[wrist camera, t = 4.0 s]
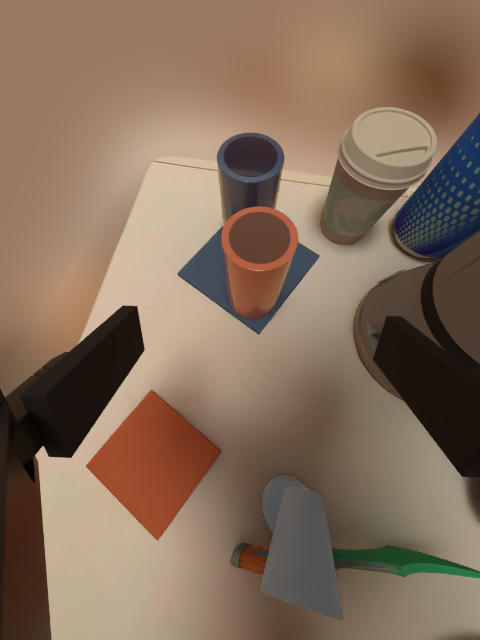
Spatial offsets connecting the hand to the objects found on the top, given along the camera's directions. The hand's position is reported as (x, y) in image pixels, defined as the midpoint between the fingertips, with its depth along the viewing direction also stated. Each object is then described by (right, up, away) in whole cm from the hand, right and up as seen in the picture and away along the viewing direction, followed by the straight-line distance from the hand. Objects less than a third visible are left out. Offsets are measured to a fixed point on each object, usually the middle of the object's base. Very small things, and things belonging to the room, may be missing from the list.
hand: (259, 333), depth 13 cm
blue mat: (0, +8, +18) cm, 20 cm away
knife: (+8, -20, +9) cm, 23 cm away
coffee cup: (+13, +13, +20) cm, 27 cm away
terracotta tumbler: (0, +4, +16) cm, 17 cm away
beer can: (+23, +12, +20) cm, 32 cm away
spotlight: (+3, -17, +10) cm, 20 cm away
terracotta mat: (-10, -13, +11) cm, 20 cm away
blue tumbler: (0, +12, +19) cm, 22 cm away
